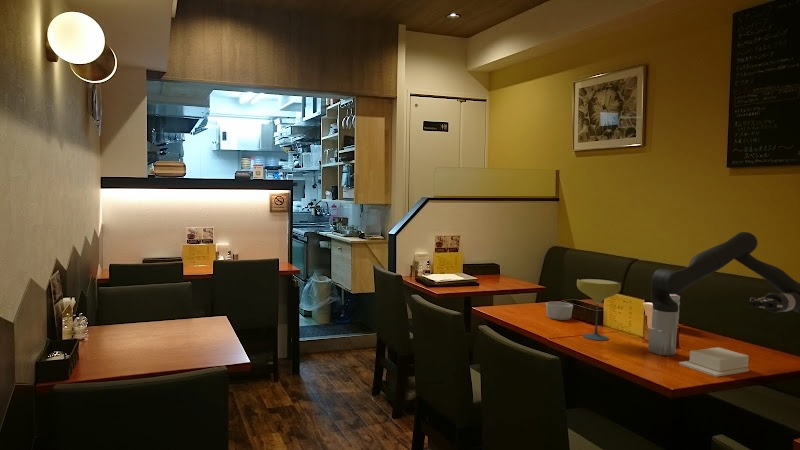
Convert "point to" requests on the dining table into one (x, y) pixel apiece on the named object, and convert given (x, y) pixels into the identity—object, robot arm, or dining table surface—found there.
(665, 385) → the dining table surface
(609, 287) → the cocktail glass
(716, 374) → the cutting board
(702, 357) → the tile
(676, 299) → the candy box
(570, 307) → the ramekin
